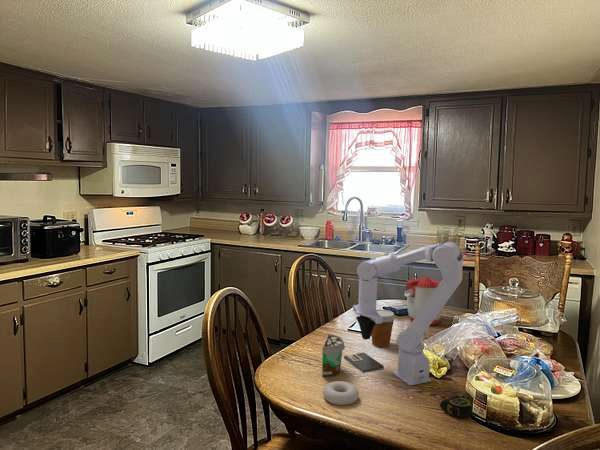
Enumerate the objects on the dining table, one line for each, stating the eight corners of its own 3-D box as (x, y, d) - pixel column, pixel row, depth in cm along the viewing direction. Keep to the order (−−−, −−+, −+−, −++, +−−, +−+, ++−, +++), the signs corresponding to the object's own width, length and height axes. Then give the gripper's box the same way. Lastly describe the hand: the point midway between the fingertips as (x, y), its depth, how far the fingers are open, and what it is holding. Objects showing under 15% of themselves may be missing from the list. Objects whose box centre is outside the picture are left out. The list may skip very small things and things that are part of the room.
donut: (365, 398, 127) (335, 386, 133) (365, 386, 126) (336, 375, 132) (345, 412, 119) (315, 399, 125) (346, 399, 118) (315, 387, 125)
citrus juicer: (395, 317, 199) (397, 272, 196) (429, 314, 204) (431, 271, 202) (414, 329, 184) (416, 281, 182) (450, 325, 189) (453, 278, 187)
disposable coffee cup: (366, 347, 163) (367, 315, 162) (368, 338, 172) (370, 308, 171) (393, 350, 161) (394, 317, 159) (394, 341, 170) (395, 310, 168)
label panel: (383, 368, 146) (383, 365, 145) (362, 372, 142) (362, 368, 142) (363, 354, 156) (364, 351, 156) (343, 358, 153) (343, 354, 153)
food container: (341, 381, 136) (342, 349, 135) (321, 378, 137) (322, 347, 136) (345, 364, 148) (346, 335, 147) (327, 362, 149) (328, 333, 148)
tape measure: (456, 405, 123) (457, 392, 123) (477, 416, 117) (478, 403, 117) (439, 411, 120) (439, 398, 119) (460, 423, 114) (461, 409, 113)
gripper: (345, 293, 150) (344, 332, 151) (369, 304, 137) (367, 348, 138) (363, 291, 153) (362, 330, 154) (388, 302, 139) (387, 345, 141)
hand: (366, 338), depth 146 cm, fingers closed
